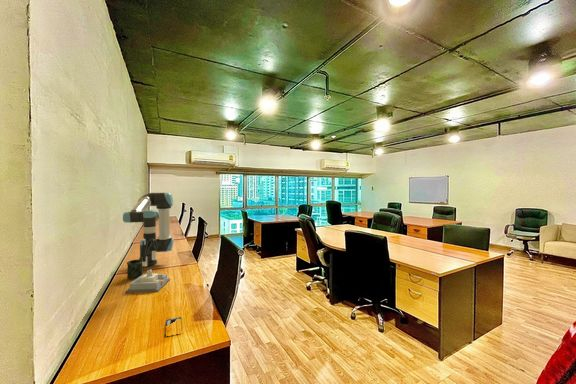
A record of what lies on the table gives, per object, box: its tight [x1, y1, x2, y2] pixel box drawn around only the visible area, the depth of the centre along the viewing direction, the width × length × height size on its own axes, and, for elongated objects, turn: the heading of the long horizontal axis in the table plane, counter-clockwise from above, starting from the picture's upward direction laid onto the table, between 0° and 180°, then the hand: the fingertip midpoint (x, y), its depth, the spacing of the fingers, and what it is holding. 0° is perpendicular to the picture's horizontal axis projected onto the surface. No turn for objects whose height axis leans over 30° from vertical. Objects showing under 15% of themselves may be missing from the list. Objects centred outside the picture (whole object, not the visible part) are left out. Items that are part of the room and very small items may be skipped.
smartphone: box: [165, 316, 182, 327], centre depth 116 cm, size 7×1×15 cm
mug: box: [126, 259, 144, 280], centre depth 179 cm, size 11×15×12 cm
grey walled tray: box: [125, 273, 171, 294], centre depth 164 cm, size 20×20×5 cm
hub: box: [140, 272, 164, 285], centre depth 165 cm, size 13×8×6 cm, turn 96°
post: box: [146, 268, 153, 277], centre depth 164 cm, size 3×3×10 cm
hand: (149, 262), depth 165 cm, fingers open, 13 cm apart
